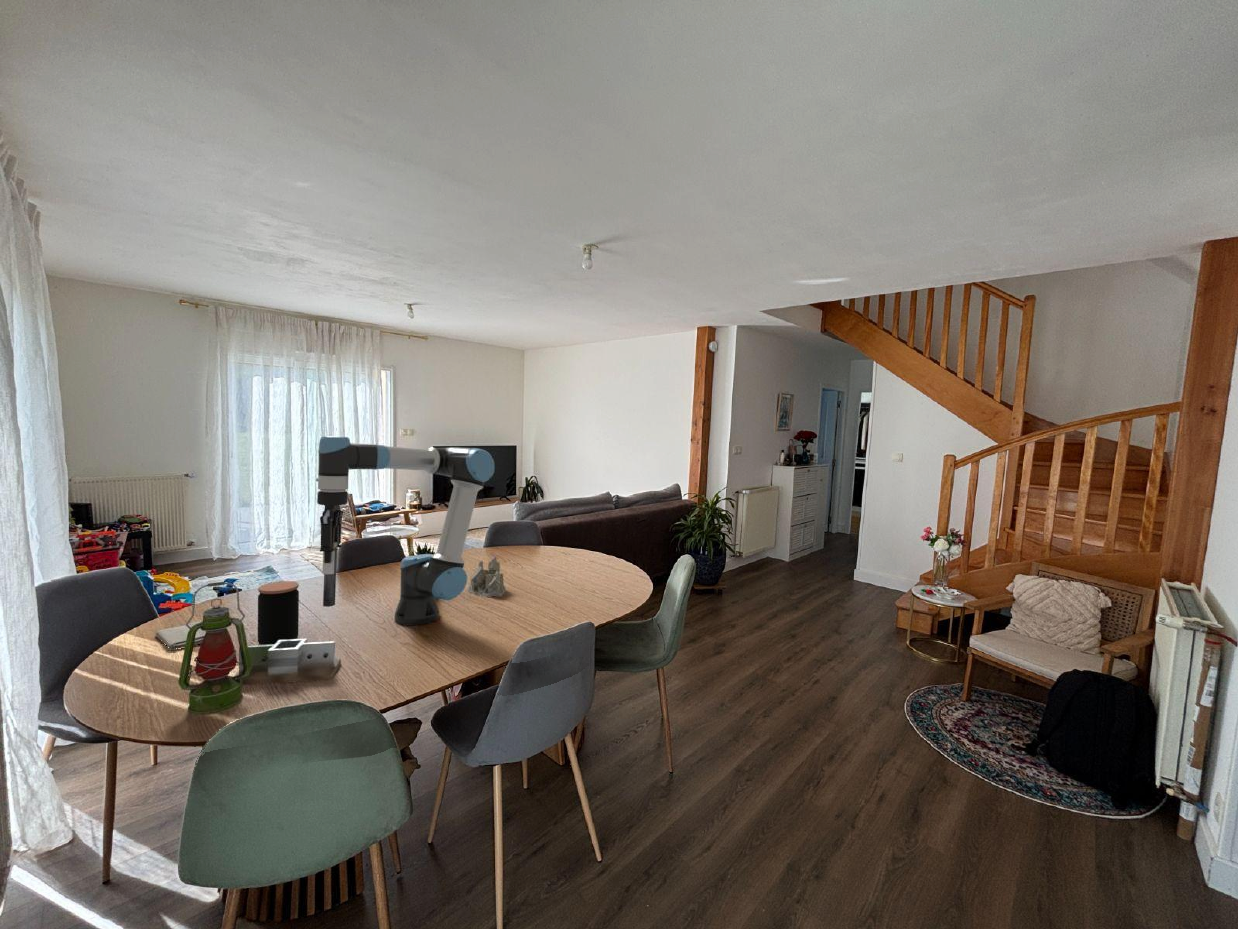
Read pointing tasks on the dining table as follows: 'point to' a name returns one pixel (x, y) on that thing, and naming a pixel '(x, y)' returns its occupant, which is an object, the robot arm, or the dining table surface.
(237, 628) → the lantern
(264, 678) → the hinge board
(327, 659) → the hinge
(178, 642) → the washcloth
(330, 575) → the pin
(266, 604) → the coffee jar
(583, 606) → the dining table surface
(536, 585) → the dining table surface
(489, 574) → the ceramic cottage
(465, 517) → the robot arm
